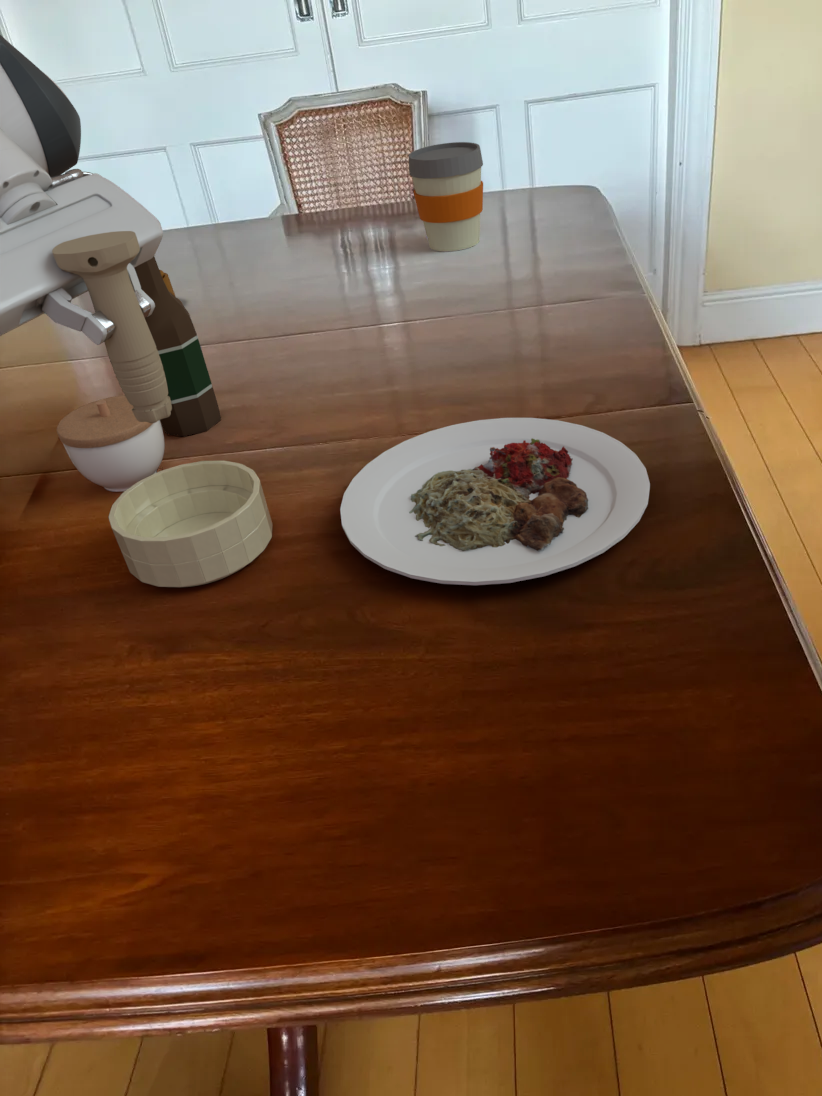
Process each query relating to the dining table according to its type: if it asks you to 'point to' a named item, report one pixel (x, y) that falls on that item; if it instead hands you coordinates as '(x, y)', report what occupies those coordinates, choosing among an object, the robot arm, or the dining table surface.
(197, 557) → the bowl
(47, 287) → the robot arm
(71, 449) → the trinket box
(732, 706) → the dining table surface
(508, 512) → the plated food
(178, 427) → the beer bottle
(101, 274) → the handle
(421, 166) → the reusable coffee cup
